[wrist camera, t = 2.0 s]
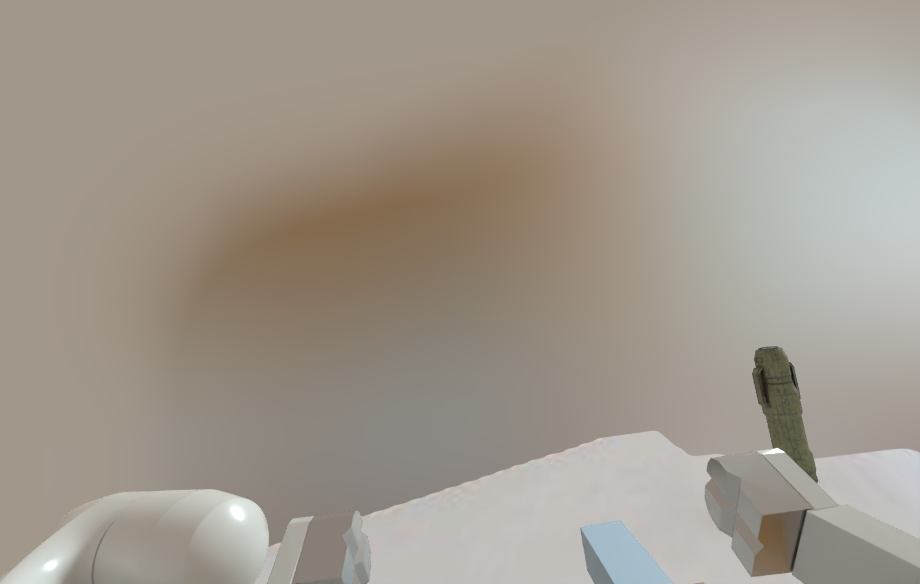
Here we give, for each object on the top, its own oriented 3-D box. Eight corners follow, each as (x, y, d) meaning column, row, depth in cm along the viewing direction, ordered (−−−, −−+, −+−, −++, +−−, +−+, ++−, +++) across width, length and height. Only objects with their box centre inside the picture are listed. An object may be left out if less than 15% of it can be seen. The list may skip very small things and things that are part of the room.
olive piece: (765, 480, 121) (737, 351, 125) (797, 470, 125) (769, 345, 128) (797, 489, 113) (766, 350, 116) (830, 478, 116) (799, 344, 120)
